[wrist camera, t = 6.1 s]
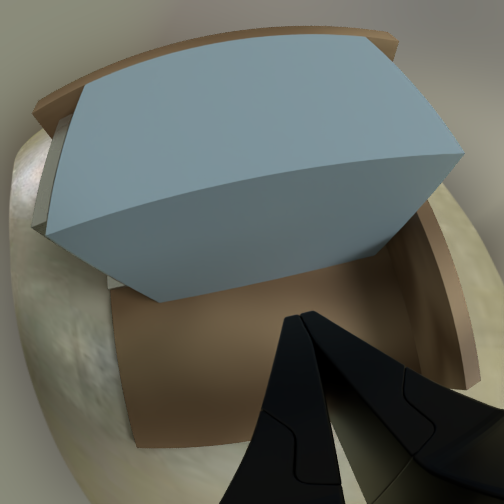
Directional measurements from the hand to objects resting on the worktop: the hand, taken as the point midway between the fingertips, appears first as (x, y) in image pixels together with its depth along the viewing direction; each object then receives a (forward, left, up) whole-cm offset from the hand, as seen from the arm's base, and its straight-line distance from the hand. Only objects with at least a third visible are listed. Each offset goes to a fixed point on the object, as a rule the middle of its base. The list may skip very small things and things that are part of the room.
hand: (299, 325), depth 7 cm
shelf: (+3, +1, -7) cm, 7 cm away
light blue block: (+7, 0, -6) cm, 9 cm away
